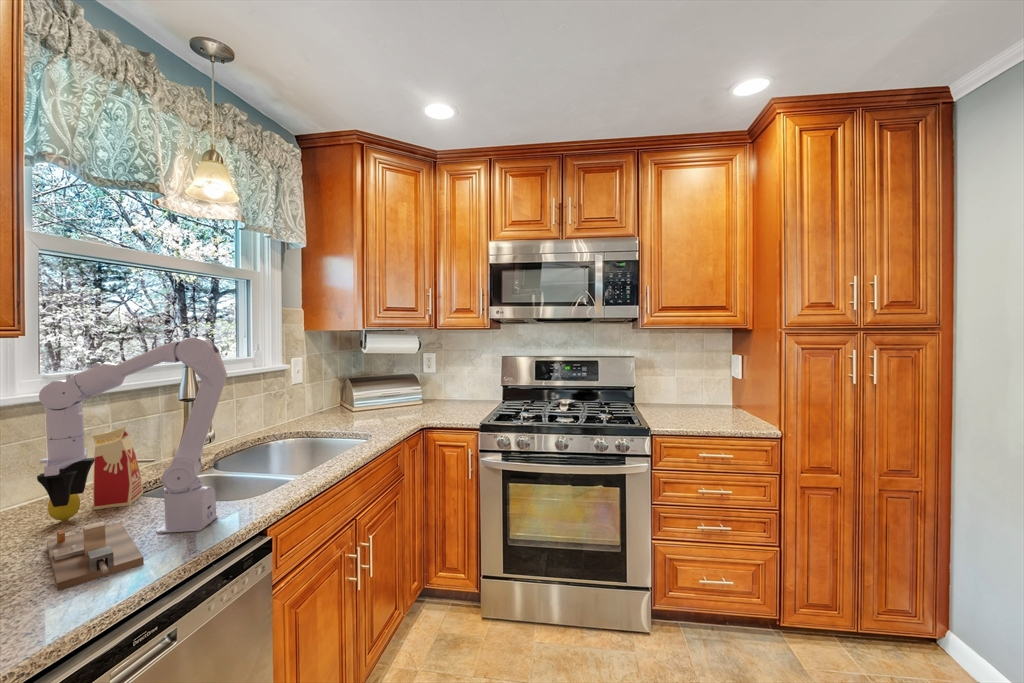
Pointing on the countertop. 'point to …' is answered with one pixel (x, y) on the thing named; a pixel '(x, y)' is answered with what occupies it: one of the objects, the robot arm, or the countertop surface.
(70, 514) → the lemon
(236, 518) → the countertop surface
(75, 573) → the keeper board
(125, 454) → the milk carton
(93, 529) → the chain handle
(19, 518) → the countertop surface
